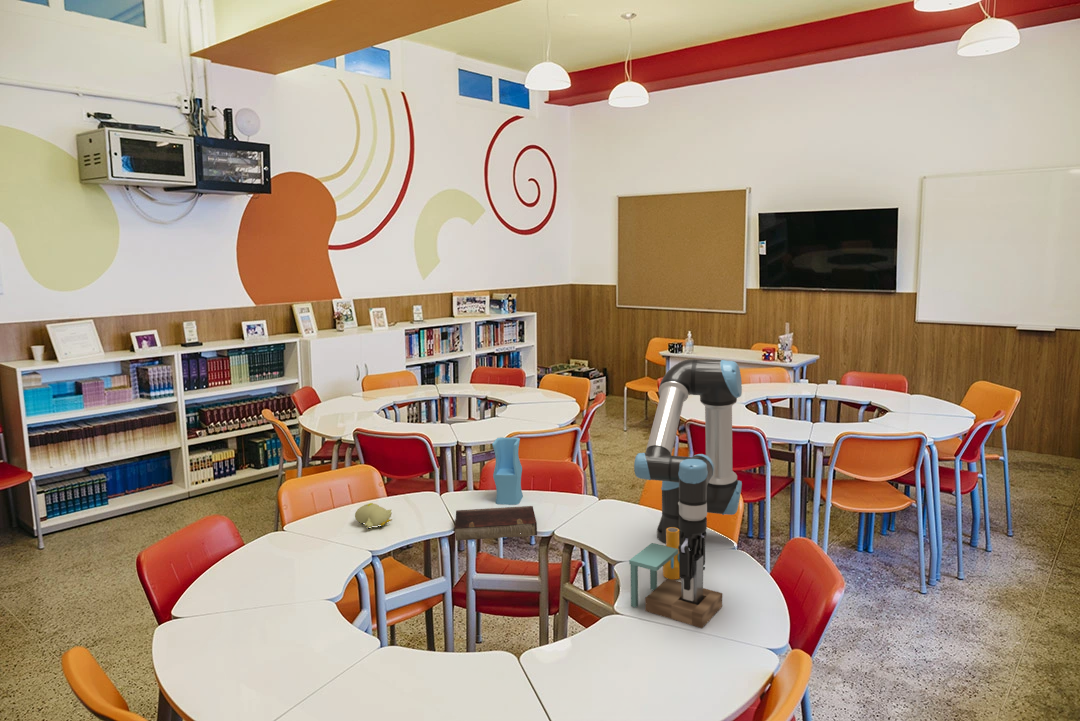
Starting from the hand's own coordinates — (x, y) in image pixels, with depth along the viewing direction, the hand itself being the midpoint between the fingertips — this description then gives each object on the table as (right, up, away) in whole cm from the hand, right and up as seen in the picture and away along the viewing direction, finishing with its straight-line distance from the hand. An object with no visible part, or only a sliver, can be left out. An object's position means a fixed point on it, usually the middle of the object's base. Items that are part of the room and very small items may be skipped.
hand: (692, 595), depth 202 cm
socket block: (-2, -4, +2) cm, 5 cm away
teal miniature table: (-10, -4, +8) cm, 13 cm away
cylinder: (-1, -1, +22) cm, 23 cm away
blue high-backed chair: (-55, +9, +92) cm, 108 cm away
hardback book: (-59, +3, +64) cm, 87 cm away
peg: (0, -2, 0) cm, 2 cm away
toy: (-106, +3, +71) cm, 128 cm away
